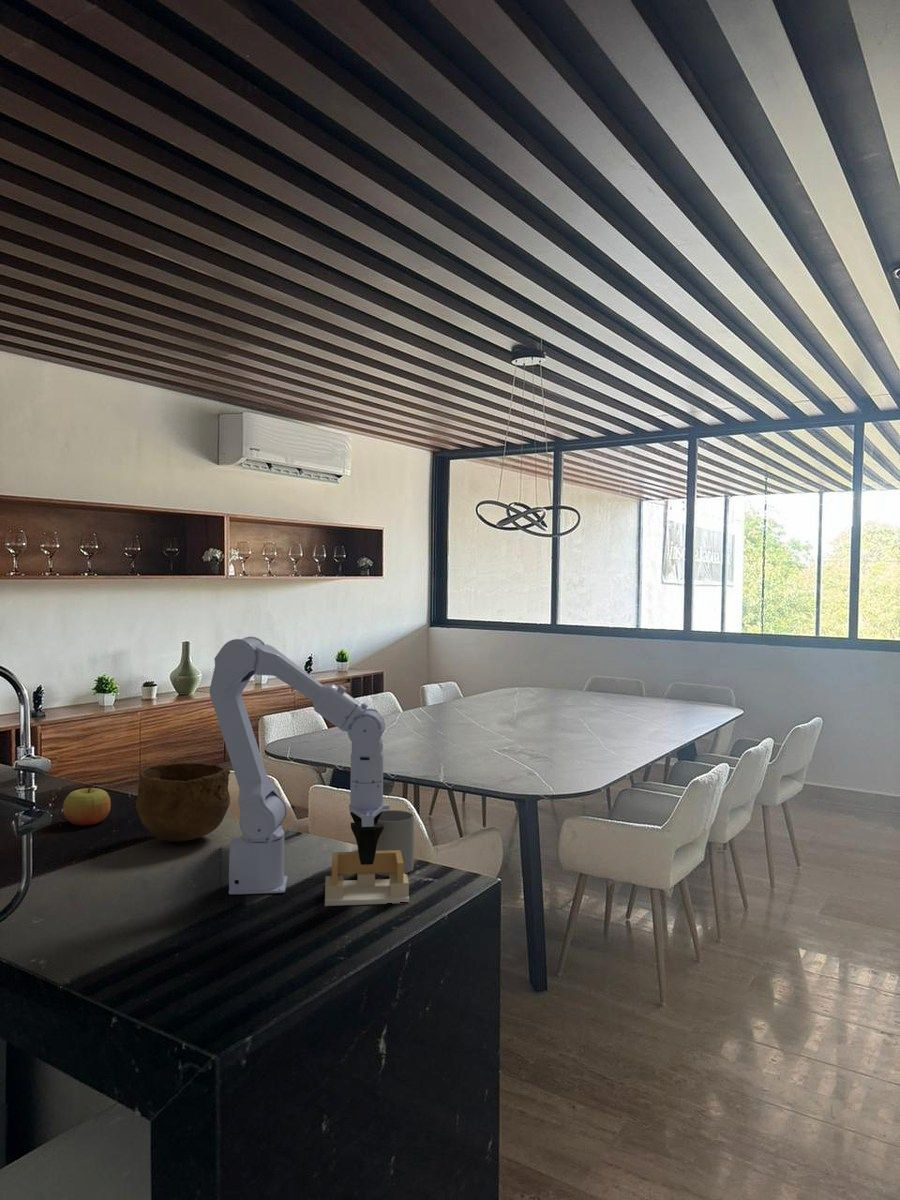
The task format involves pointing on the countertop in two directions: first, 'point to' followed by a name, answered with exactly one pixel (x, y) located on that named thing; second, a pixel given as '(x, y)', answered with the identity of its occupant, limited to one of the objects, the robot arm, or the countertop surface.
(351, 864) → the tan u-shaped clamp
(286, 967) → the countertop surface
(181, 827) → the bowl
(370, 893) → the display stand
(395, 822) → the cup
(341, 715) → the robot arm
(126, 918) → the countertop surface
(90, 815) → the apple
